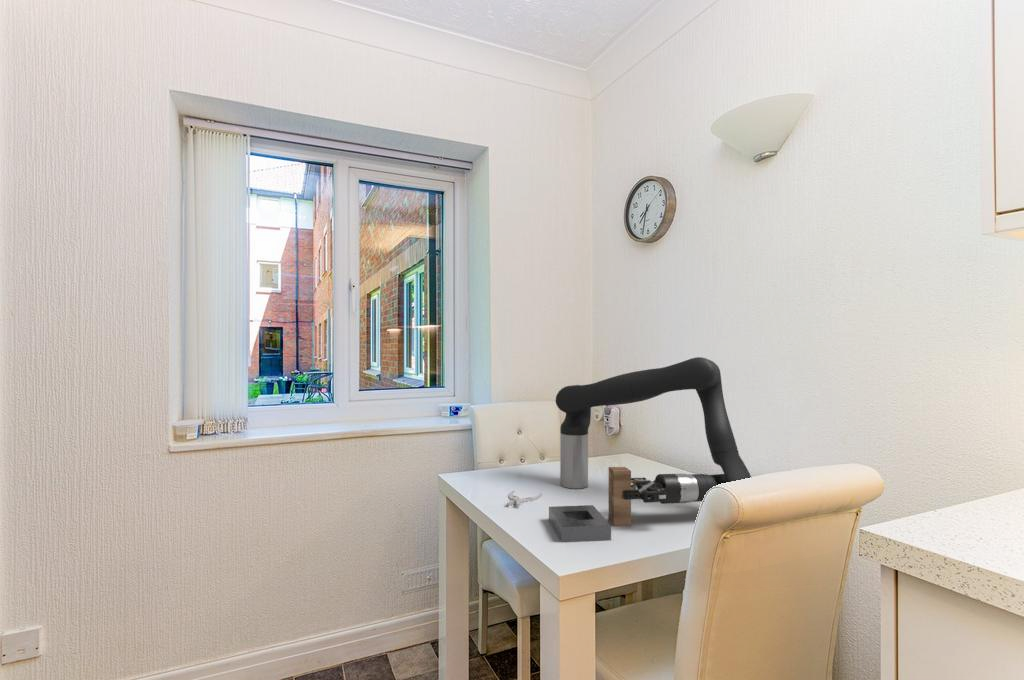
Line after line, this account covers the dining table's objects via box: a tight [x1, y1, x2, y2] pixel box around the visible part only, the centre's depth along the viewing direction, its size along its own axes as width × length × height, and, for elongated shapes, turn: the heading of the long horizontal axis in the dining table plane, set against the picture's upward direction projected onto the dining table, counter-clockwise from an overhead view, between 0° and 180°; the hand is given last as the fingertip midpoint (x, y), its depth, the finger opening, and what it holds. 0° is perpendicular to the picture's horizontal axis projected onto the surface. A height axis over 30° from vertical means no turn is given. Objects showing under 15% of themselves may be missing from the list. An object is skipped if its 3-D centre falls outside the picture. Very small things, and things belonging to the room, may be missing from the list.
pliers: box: [506, 490, 543, 509], centre depth 145 cm, size 10×2×15 cm
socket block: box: [548, 504, 612, 543], centre depth 122 cm, size 15×12×4 cm
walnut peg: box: [608, 466, 632, 527], centre depth 127 cm, size 4×4×14 cm
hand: (617, 490), depth 127 cm, fingers open, 8 cm apart
